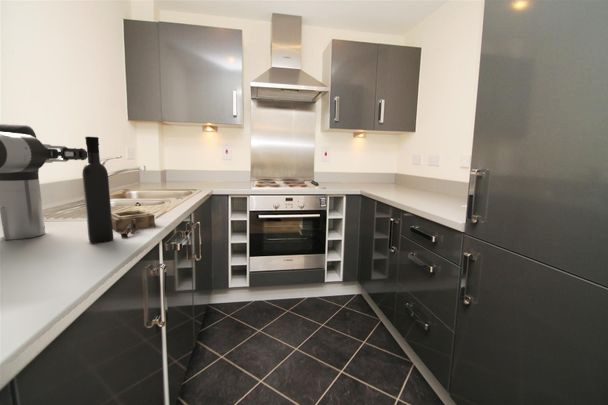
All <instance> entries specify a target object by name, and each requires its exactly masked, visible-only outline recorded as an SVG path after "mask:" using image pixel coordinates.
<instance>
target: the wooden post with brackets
mask: <svg viewBox="0 0 608 405" xmlns="http://www.w3.org/2000/svg"><path fill="white" fill-rule="evenodd" d="M135 222H136V220H135V219H132V220H131V223H130V225H128V227H127V229H126V230H125V231H122V232H120V237H121V238H129V233H130V235H134V234H135V233H136V232H137V231H138V229H137V227H136V225H135ZM132 226H133V227H134V229H132Z"/></svg>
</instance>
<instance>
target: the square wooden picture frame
mask: <svg viewBox="0 0 608 405" xmlns="http://www.w3.org/2000/svg"><path fill="white" fill-rule="evenodd" d="M111 215H112V227H113V232H114V231H115V232H116V233H119V232H124V231H125V230H126V229H127V227H128V225H130V223H131V220H132V219H135V220H136V222H135V225H136V227H137V230H139V229H144V228H145V229H146V228H150V227H151V228H153V227H156V222H155V221H156V220H155V214H152V213H150V212H148V211H145V210H143V209H136V210H134V209H133V210H125V211H115V212H111ZM132 229H134V227H133V226H132Z"/></svg>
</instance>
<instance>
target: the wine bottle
mask: <svg viewBox="0 0 608 405" xmlns="http://www.w3.org/2000/svg"><path fill="white" fill-rule="evenodd" d="M84 138H85V145H86V152H87V156H88V157H87V163H86V164H85V165H84V166H83V169H82V173H81V174H82V184H83V194H84V197H83V198H84V206H85V215H86V216H85V217H86V225H87V235H88V241H89V243H90V244H92V245H93V244H101V243H109V242H111V241H113V240H114V230H113V227H112V215H111V213H112V206H111V193H110V185H109V184H110V183H109V182H110V181H109V173H108V170H107V168H106V166H104V164H102V163H101V159H100V158H101V157H100V148H99V146H100V142H99V137H98V136H85V137H84Z"/></svg>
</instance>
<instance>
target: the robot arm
mask: <svg viewBox="0 0 608 405" xmlns="http://www.w3.org/2000/svg"><path fill="white" fill-rule="evenodd" d="M58 149H59V150H60V151H59V150H58ZM59 157H61V158H59ZM58 158H59V159H58ZM70 160H73V161H78V160H79V161H86V160H88V154H87V149H85V148H82V147H81V148H77V147H74V148H70V147H69V148H68V147H67V146H65V145H64V146H63V145H51V144H49V143H48V144H45V143H42V142H41V141H40V139H38V138H37V134H36V133H35V131H34V129H33V128H32V127H31V126H29V125H27V124H20V123H19V124H15V123H0V220H1V226H2V234H3V239H4V241H7V240H21V239H29V238H35V237H39V236H42V235H45V234H46V225H45V217H44V210H43V202H42V201H43V200H42V195H41V194H42V193H41V185H40V179H39V171H40V170H39V169H41V168H42V167H43V166H44V165H45V164H50V163H51V164H52V163H54V162H58V163H59V162H60V163H61V162H63V163H65V162H69V161H70Z"/></svg>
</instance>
